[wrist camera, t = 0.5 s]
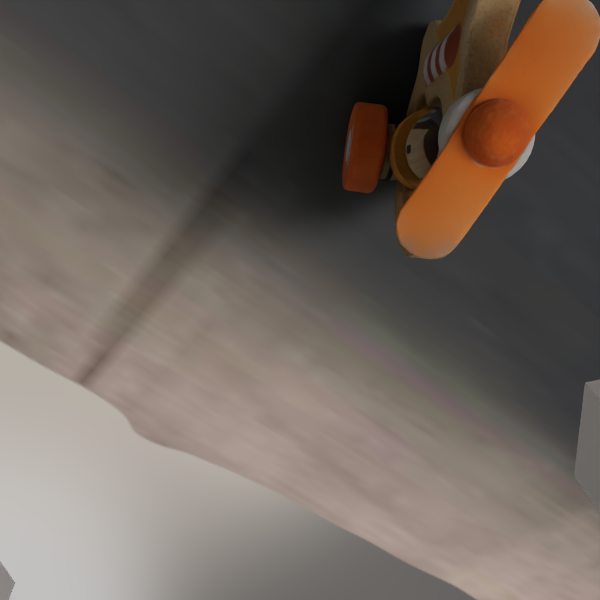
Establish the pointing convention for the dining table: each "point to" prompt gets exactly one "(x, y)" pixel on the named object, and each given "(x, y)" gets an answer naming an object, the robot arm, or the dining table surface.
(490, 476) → the dining table surface
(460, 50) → the toy helicopter
